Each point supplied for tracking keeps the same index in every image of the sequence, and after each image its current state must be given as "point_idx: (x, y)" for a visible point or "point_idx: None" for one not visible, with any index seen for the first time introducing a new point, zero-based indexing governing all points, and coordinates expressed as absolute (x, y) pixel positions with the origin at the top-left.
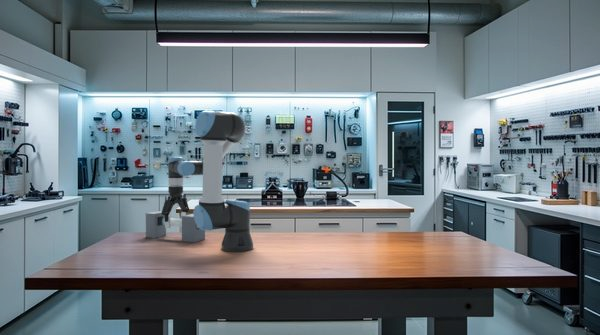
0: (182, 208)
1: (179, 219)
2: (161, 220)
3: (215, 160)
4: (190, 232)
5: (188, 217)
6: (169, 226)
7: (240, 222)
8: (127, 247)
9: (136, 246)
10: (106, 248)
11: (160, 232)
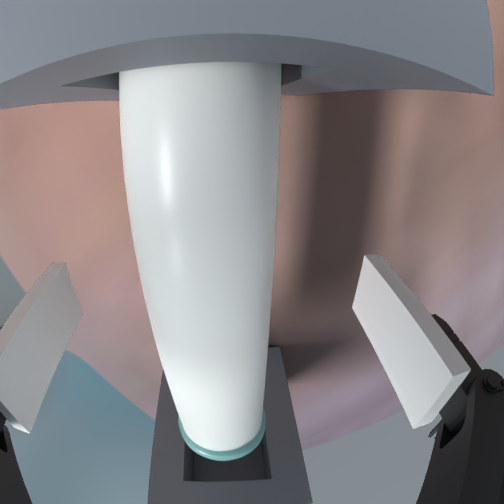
0: (2, 476)
1: (229, 276)
2: (188, 452)
3: None
4: None
5: None
6: (383, 264)
7: None
8: (486, 287)
9: (475, 271)
10: (488, 331)
11: None
